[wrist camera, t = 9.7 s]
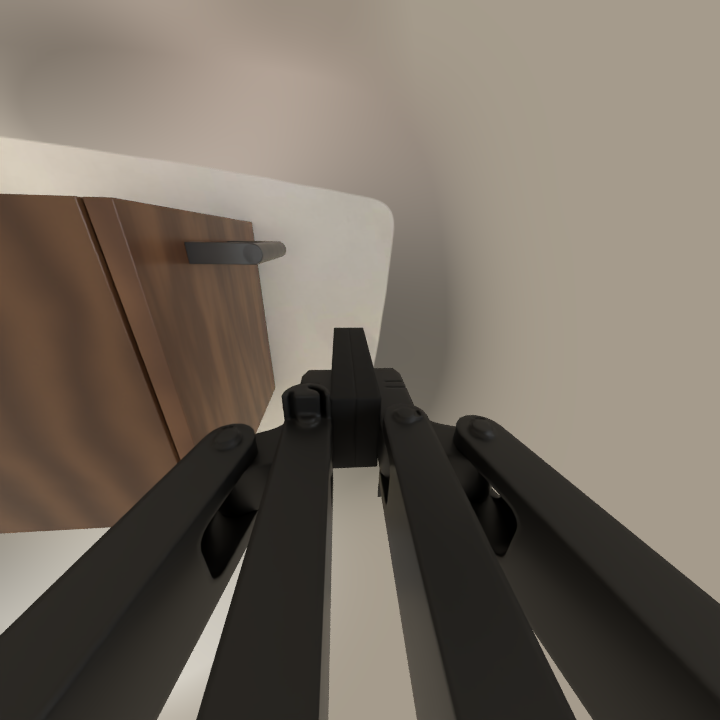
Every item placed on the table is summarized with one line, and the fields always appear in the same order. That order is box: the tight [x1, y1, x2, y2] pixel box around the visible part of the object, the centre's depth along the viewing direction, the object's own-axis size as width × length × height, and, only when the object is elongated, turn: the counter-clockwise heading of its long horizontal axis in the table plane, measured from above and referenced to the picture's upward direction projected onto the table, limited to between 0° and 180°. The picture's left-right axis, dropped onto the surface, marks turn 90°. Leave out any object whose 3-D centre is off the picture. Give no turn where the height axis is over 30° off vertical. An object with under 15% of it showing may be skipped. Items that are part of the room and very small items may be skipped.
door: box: [83, 197, 286, 460], centre depth 30 cm, size 7×26×24 cm, turn 179°
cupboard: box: [0, 194, 180, 533], centre depth 29 cm, size 18×26×24 cm
